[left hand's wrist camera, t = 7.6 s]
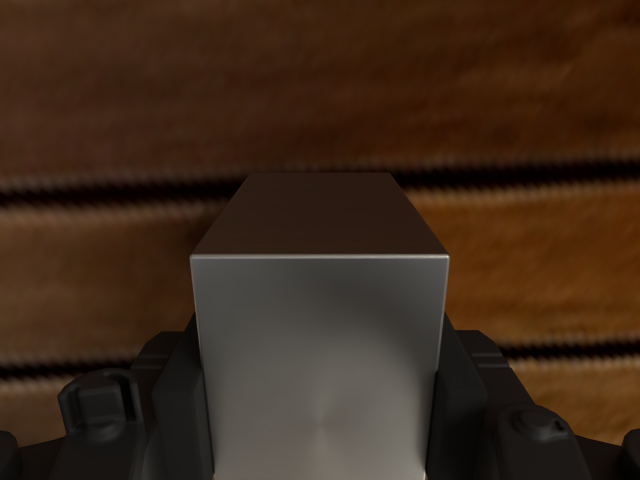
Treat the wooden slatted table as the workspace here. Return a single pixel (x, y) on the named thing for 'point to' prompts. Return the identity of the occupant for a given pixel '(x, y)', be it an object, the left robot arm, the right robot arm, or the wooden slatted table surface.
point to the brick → (319, 329)
